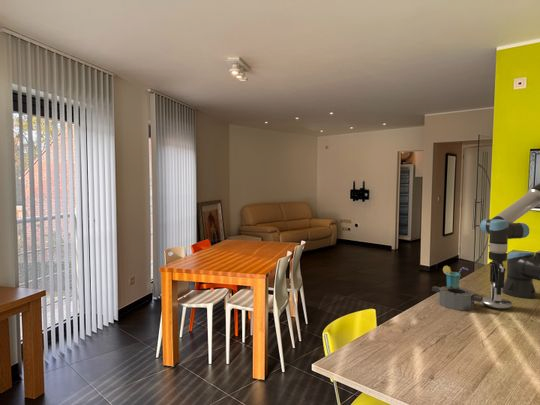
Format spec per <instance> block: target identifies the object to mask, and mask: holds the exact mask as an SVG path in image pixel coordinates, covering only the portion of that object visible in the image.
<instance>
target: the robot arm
mask: <svg viewBox="0 0 540 405" xmlns="http://www.w3.org/2000/svg"><path fill="white" fill-rule="evenodd" d="M538 205H539V206H540V183H538V184H536V185H534V186H532V187H531V188H529V190H527V191H526V194H525V195H523V196H522V197H520V198H519V199H517V200H516V201H515V202H512V203H511V204H510V205H508V207H506V208H505V209H504V210H502V211H501V212H499V213H498V214H496V215H495V216H493V217H492V218H485V219H483V220H481V222H480V224H479V228H480V230H481V232H482V233H484V234H488V235H489V238H488V239H489V242H488V244H487V247H488V259H489V260H491V261H490V262H489V268H490V269H489V282H491V285H492V282H493V281H496V286H494V288H495V296H494V300H495V301H501V298H502V293H504V294H505V295H508V296H511V297H516V298H522V299H533V298H536V296H537V292H536V288H535V285H534V283H533V282H534V281H533V280H536V281H538V282H539V281H540V250H538V251H536V253H534V252H532V251H510V252H508V249H509V248H508V246H509V245H508V240H513V239H524V238H527V237H529V235H530V227H529V226H528V225H527V223H525V222H516V221H518V220H519V219H520V218H521V217H523V216H524V215H526V214H527V213H528V212H530V211H531V210H533V209H534V208H535V207H537V206H538ZM507 252H508V253H507ZM503 262H507V264H506V268H505V267H504V263H503ZM505 274H506V275H505ZM505 276H506V279H505ZM490 291H491V292H490V293H491V296H490V297H491V298H492V289H491V290H490Z"/></svg>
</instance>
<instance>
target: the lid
mask: <svg viewBox="0 0 540 405" xmlns="http://www.w3.org/2000/svg"><path fill="white" fill-rule="evenodd" d="M494 286H496V281H493V282H492V284H491V290H492V298H491V296H484V297H483V296H482V297H483V301H482V302H480V303H481V304H482V305H483V306H487V307H490V308H495V309H511V308H512V307H513V302H511V300H508V299H505V298H502V297H501V301H495V300H494V296H495V288H494Z"/></svg>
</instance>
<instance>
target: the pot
mask: <svg viewBox="0 0 540 405" xmlns="http://www.w3.org/2000/svg"><path fill="white" fill-rule="evenodd" d="M431 291H432V292H436V293H438V304H439V305H440V306H441V307H444V308H446V309H451V310H455V311H472V310H473V309H474V308H475V302H477V303H481V302H482V301H483V296H481V295H479V296H478V295H475V292H474V291H472V290H470V289H468V288H463V287H460V286H459V287H452V286H447V285H446V286H441V287H440V286H436V285H435V286H432V287H431Z"/></svg>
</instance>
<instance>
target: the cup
mask: <svg viewBox="0 0 540 405" xmlns="http://www.w3.org/2000/svg"><path fill="white" fill-rule="evenodd" d="M462 270H466V271H470V269H469V268H467V267H464V266H463V267H461V268H460V269H459V271H458V272H457V271H452V268H451V266H448V265H444V266H443V268H442V272H443V274H445V275H446V286H452V287H460V286H459V285H460V279H461V276H462V275H461V272H462Z"/></svg>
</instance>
